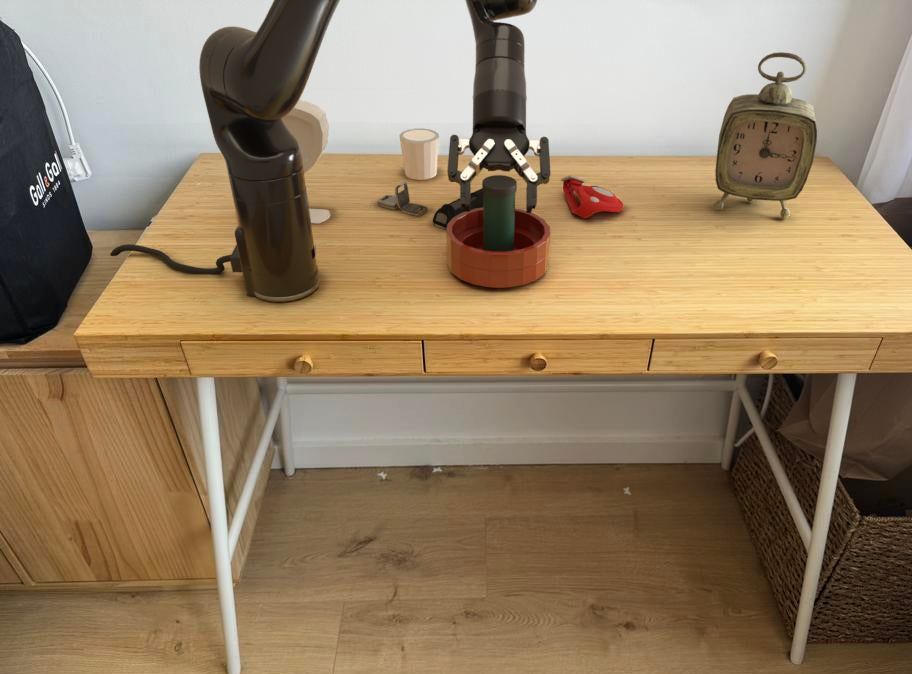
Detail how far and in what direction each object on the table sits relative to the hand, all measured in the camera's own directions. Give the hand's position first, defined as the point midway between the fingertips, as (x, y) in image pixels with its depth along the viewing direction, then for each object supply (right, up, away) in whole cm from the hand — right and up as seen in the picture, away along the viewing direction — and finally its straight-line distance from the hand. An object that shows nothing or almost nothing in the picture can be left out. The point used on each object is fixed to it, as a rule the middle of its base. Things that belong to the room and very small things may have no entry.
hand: (498, 210), depth 113 cm
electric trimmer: (-5, +4, +20) cm, 21 cm away
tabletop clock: (+42, +5, +24) cm, 48 cm away
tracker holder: (+15, +6, +23) cm, 28 cm away
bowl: (0, -7, +6) cm, 9 cm away
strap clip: (-16, +5, +20) cm, 26 cm away
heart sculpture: (-34, +3, +17) cm, 38 cm away
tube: (0, -6, +5) cm, 8 cm away
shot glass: (-14, +13, +31) cm, 37 cm away
